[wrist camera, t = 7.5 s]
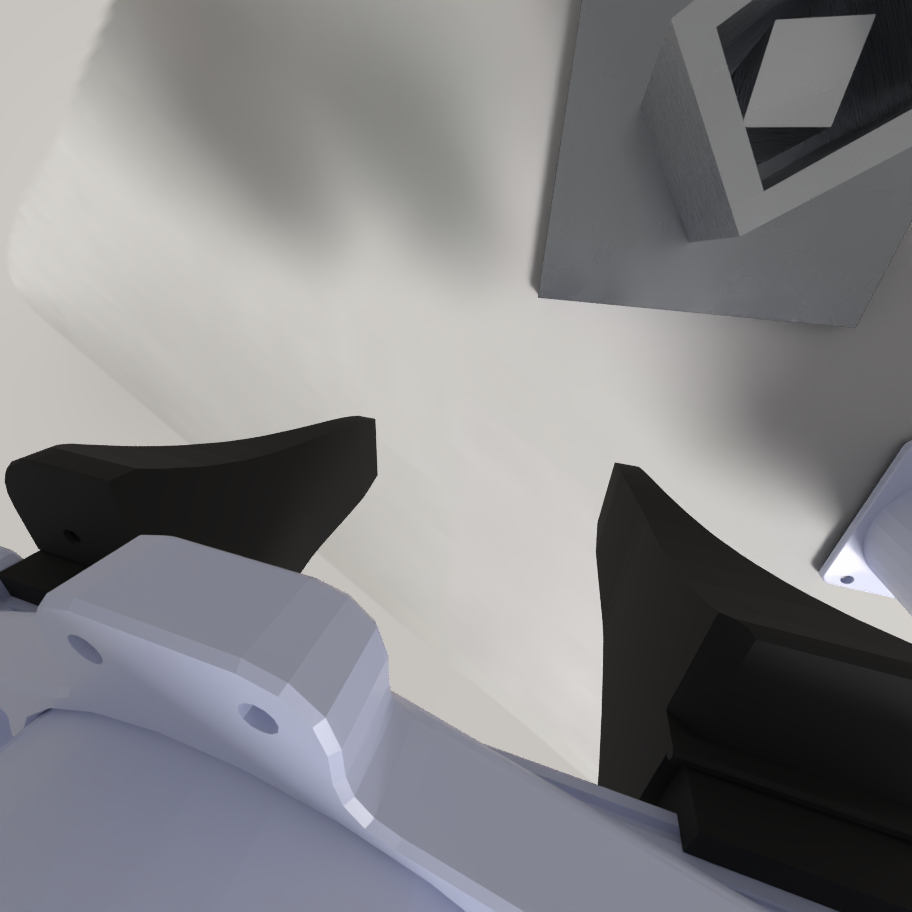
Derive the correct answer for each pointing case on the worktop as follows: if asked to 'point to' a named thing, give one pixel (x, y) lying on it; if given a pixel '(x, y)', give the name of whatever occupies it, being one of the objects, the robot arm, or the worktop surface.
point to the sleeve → (722, 127)
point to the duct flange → (774, 146)
